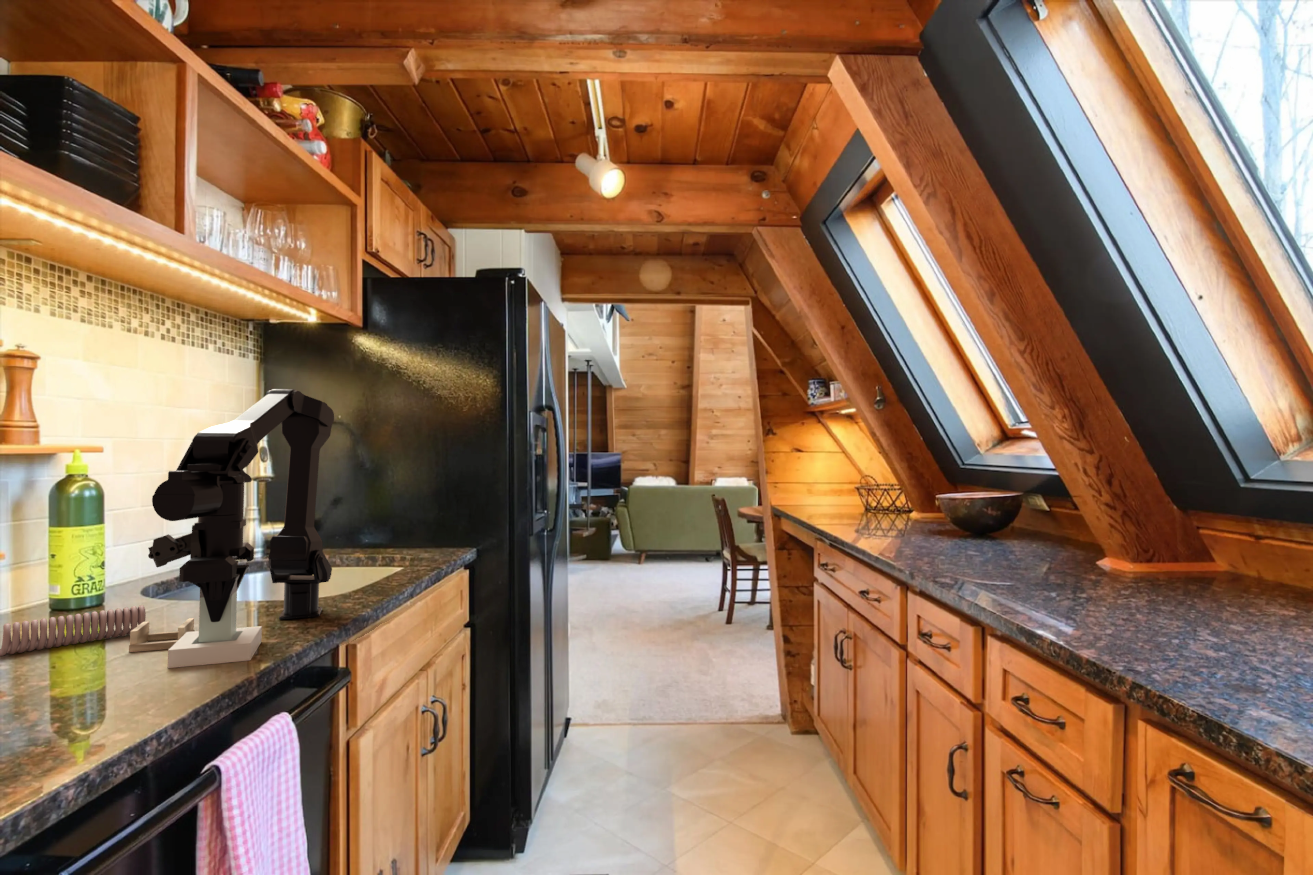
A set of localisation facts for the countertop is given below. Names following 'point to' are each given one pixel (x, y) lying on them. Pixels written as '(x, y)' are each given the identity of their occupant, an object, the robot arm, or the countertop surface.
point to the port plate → (214, 648)
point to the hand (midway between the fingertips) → (218, 618)
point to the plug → (222, 628)
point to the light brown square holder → (156, 637)
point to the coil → (71, 629)
